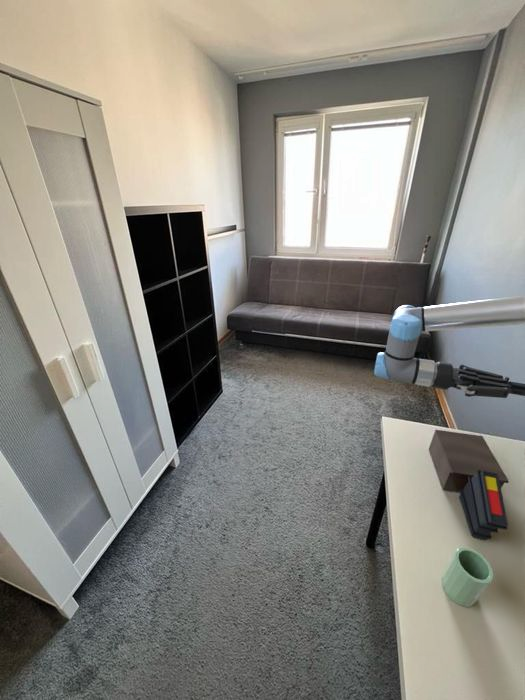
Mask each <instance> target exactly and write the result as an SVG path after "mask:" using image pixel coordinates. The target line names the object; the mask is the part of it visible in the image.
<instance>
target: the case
mask: <svg viewBox="0 0 525 700" xmlns="http://www.w3.org/2000/svg"><path fill="white" fill-rule="evenodd" d="M428 452H429V456H430V458H431V461H432V463H433V466H434V467H433V468H434V469H435V472H436V476H437V477H438V481H439V484H440V486H441V489H442V491H447V492H451V493H457V494H461V493H460V488H461V487H462V488H464V487H465V485H466V484H467V483H468V477H467V476H461V475H454V474H452V473H451V471H450V468H449V466H448V463H447V461H446V458H445V456H444V453H443V451H442V448H441V445H440V443H439V440H438V438H437V435H436V433H435V432H434V433H433V435H432V439H431V442H430V444H429V447H428ZM504 485H505V483H503V482H500V487H501V489H502V488H503V486H504Z"/></svg>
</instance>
